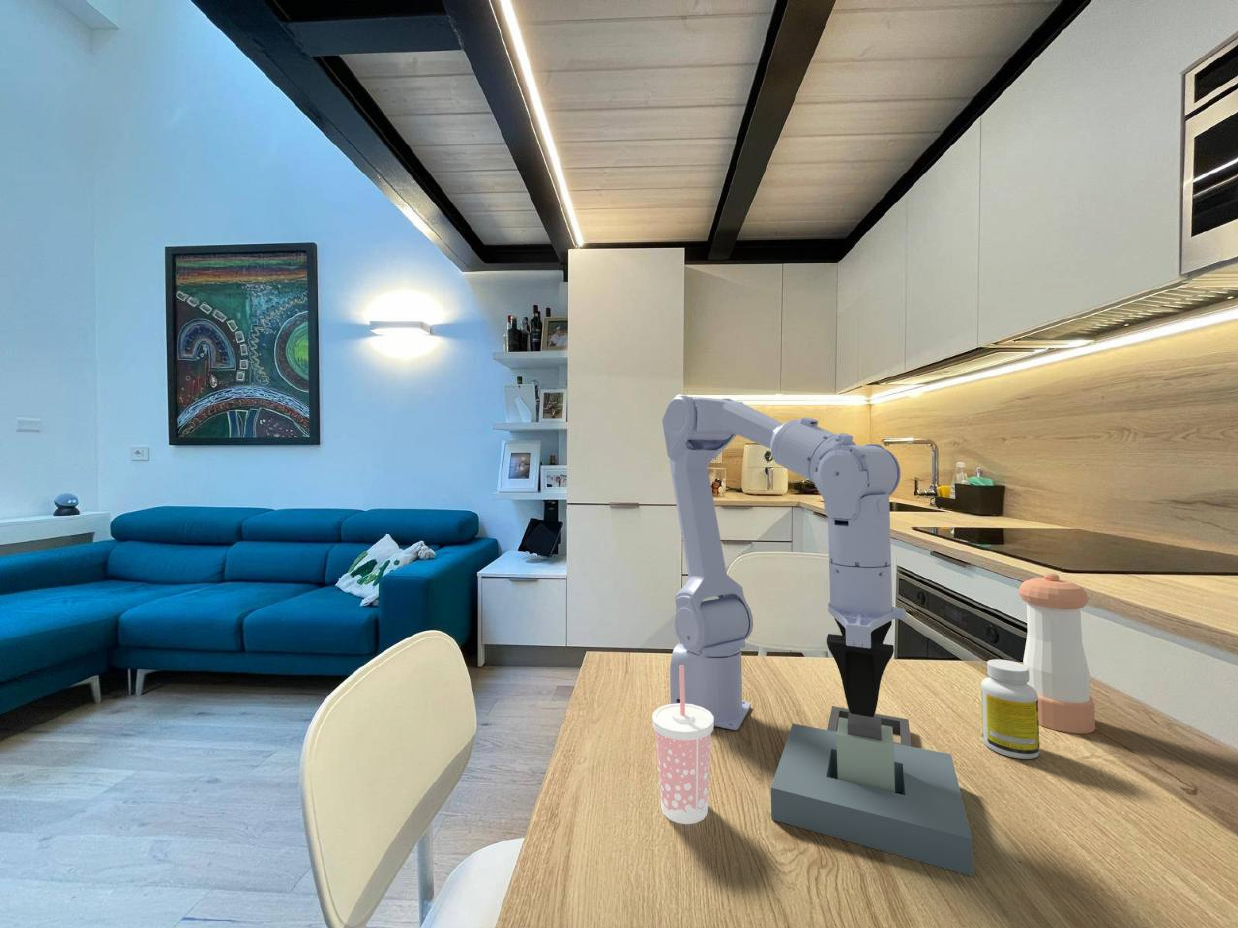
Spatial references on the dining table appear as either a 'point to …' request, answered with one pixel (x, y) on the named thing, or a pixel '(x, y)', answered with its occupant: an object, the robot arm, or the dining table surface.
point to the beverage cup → (683, 758)
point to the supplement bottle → (1009, 710)
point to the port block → (875, 801)
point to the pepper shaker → (1058, 653)
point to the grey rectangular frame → (896, 723)
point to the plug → (865, 752)
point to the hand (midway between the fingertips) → (863, 698)
